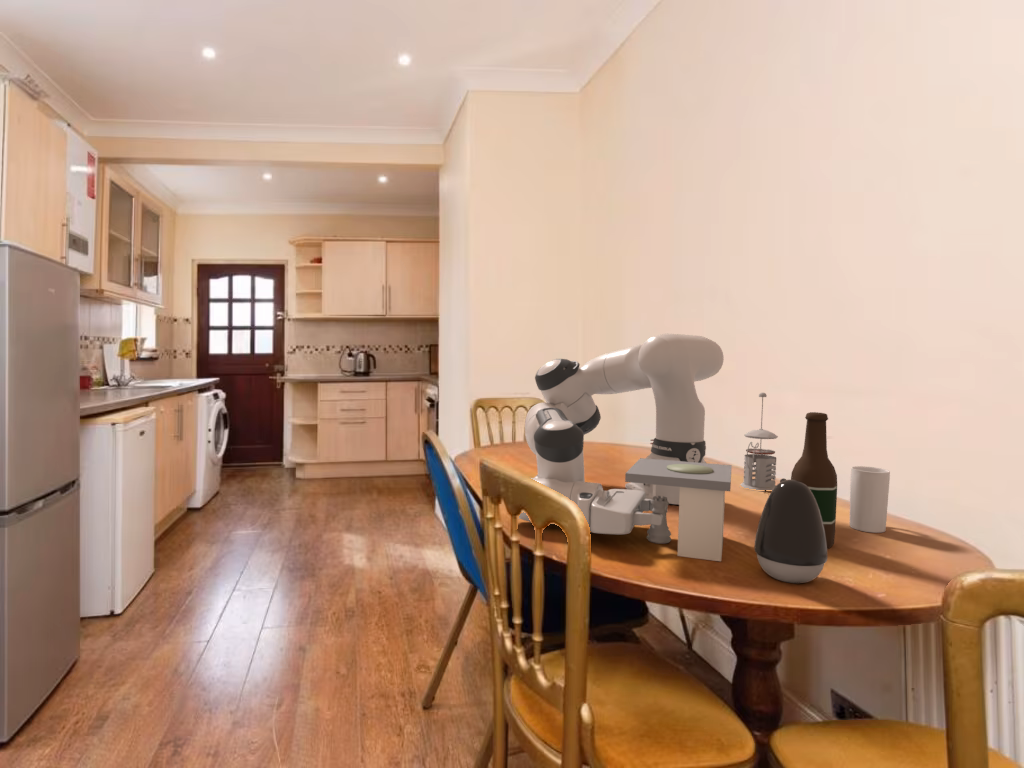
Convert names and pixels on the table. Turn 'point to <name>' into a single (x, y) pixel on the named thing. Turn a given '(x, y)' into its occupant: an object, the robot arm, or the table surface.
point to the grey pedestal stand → (691, 501)
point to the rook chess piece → (661, 532)
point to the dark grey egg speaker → (791, 534)
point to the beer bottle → (819, 472)
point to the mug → (869, 498)
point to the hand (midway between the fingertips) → (664, 513)
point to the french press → (759, 461)
